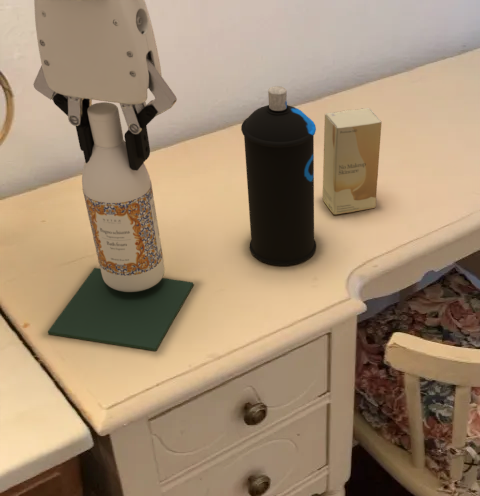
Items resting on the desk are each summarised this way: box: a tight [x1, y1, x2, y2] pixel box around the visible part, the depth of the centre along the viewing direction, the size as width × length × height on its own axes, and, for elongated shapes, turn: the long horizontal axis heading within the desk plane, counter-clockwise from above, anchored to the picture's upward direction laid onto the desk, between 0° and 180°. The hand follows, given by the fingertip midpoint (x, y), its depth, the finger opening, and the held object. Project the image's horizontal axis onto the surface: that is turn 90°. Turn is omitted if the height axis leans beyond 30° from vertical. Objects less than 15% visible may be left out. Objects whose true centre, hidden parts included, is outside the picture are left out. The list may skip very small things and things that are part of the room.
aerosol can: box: [240, 85, 317, 267], centre depth 96 cm, size 8×8×20 cm
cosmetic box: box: [322, 107, 382, 215], centre depth 107 cm, size 6×4×12 cm
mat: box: [47, 267, 195, 352], centre depth 93 cm, size 12×12×1 cm
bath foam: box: [81, 101, 166, 292], centre depth 88 cm, size 7×7×20 cm
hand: (117, 159), depth 85 cm, fingers closed on bath foam, 4 cm apart
